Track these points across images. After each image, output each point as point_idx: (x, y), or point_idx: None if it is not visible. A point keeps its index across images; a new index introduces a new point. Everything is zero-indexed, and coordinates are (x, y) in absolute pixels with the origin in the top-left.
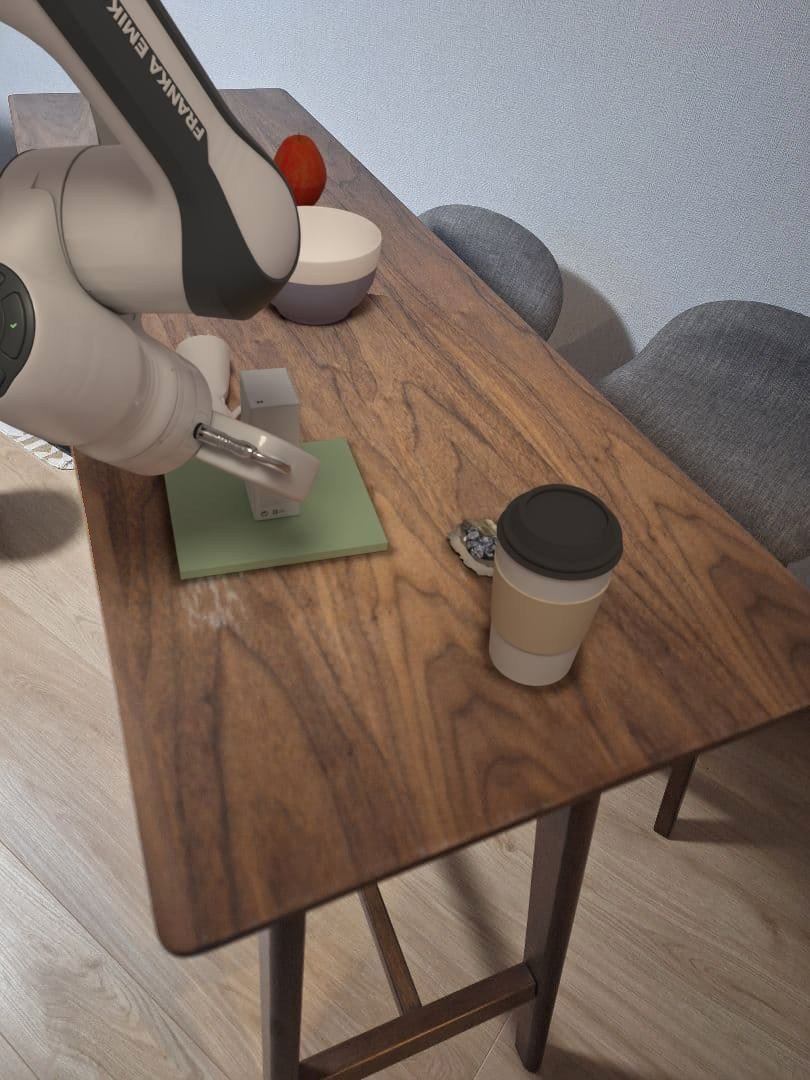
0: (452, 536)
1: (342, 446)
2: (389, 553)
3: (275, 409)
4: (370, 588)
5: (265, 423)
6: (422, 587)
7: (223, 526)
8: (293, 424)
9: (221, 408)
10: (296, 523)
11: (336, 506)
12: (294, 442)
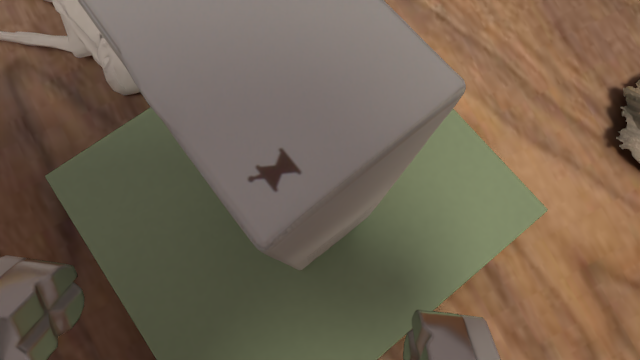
0: (629, 141)
1: None
2: (542, 218)
3: (370, 172)
4: (561, 320)
5: (325, 219)
6: (637, 275)
7: (249, 310)
8: (414, 151)
9: None
10: (373, 238)
11: (415, 160)
12: (398, 173)
